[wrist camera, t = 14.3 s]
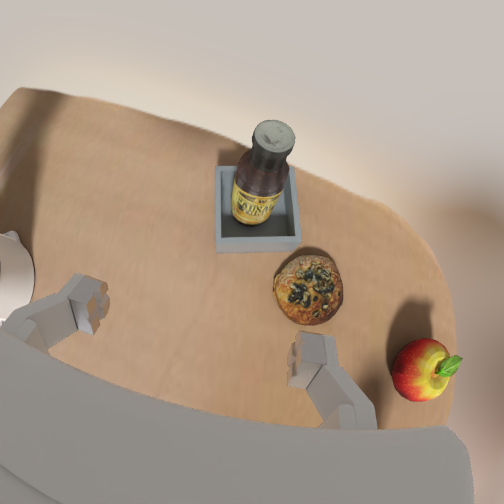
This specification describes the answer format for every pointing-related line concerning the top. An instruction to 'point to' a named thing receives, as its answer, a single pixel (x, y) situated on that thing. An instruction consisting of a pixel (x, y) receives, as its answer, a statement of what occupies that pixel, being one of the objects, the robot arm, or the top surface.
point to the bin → (265, 234)
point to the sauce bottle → (262, 173)
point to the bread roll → (309, 290)
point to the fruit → (423, 369)
